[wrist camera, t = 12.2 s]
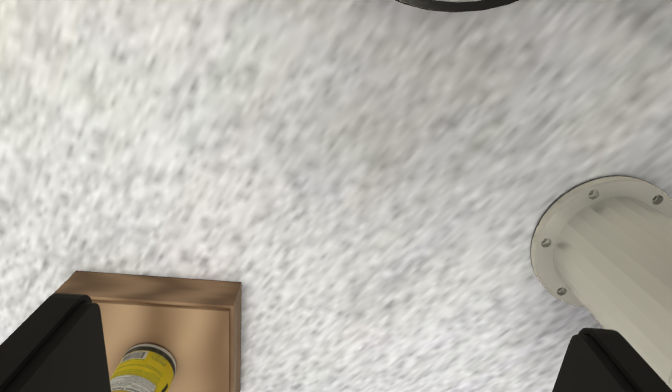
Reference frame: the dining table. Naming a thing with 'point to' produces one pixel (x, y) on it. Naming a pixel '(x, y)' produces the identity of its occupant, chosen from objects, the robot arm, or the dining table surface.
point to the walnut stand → (170, 324)
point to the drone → (456, 5)
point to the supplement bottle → (144, 370)
